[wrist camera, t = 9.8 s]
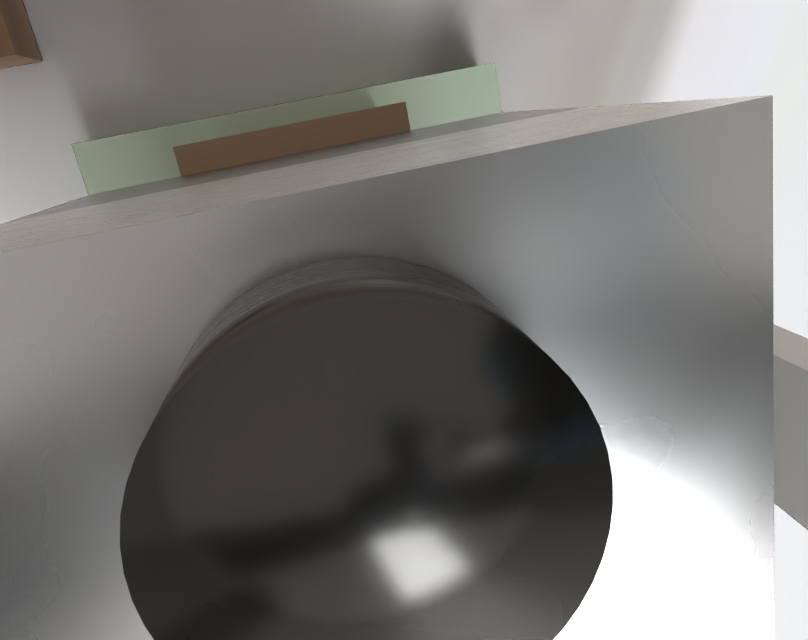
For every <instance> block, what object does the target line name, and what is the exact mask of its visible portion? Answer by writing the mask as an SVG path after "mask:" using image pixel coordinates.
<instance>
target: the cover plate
mask: <svg viewBox="0 0 808 640" xmlns="http://www.w3.org/2000/svg"><path fill="white" fill-rule="evenodd" d="M0 640H775V633H774V375H773V116H772V95H771V96H755V97H740V98H724V99H708V100H693V101H677V102H661V103H645V104H630V105H614V106H598V107H582V108H575V109H570V110H565V111H560V112H555V113H550V114H545V115H540V116H535V117H530V118H525V119H520V120H515V121H510V122H505V123H500V124H496V125H491V126H486V127H481V128H476V129H471V130H466V131H461V132H456V133H451V134H446V135H441V136H436V137H431V138H426V139H421V140H416V141H411V142H406V143H401V144H396V145H391V146H386V147H381V148H376V149H371V150H366V151H361V152H356V153H351V154H346V155H341V156H336V157H331V158H326V159H321V160H316V161H311V162H306V163H301V164H296V165H292V166H287V167H282V168H277V169H272V170H267V171H262V172H257V173H252V174H247V175H242V176H237V177H232V178H227V179H222V180H217V181H212V182H207V183H202V184H197V185H192V186H187V187H182V188H177V189H172V190H167V191H162V192H157V193H152V194H147V195H142V196H137V197H132V198H127V199H122V200H117V201H112V202H107V203H102V204H97V205H92V206H87V207H83V208H78V209H73V210H68V211H63V212H58V213H53V214H48V215H43V216H38V217H33V218H28V219H23V220H18V221H13V222H8V223H4V224H1V225H0Z"/></svg>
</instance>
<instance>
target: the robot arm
mask: <svg viewBox="0 0 808 640" xmlns="http://www.w3.org/2000/svg"><path fill="white" fill-rule="evenodd" d="M773 375H774V503H775V504H776V505H777V506H779V507H780V508H781V509H782V510H783V511H785V512H786V513H787V514H788V515H790V516H791V517H792V518H793V519H795V520H796V521H797V522H798V523H800V524H801V525H802V526H803V527H805V528H806V529H807V530H808V339H807V338H805V337H802V336H800V335H797V334H795V333H793V332H790V331H788V330H786V329H783V328H781V327H779V326H776V325H773Z"/></svg>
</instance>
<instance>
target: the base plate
mask: <svg viewBox="0 0 808 640" xmlns="http://www.w3.org/2000/svg"><path fill="white" fill-rule="evenodd" d="M570 109H575V108H565V109H550V110H534V111H518V112H503V113H494V114H489V115H484V116H479V117H474V118H469V119H464V120H459V121H454V122H449V123H444V124H439V125H434V126H429V127H424V128H419V129H414V130H409V131H404V132H399V133H394V134H389V135H384V136H379V137H374V138H369V139H364V140H359V141H354V142H349V143H344V144H339V145H334V146H329V147H324V148H319V149H314V150H309V151H304V152H299V153H294V154H289V155H284V156H279V157H274V158H269V159H264V160H259V161H254V162H249V163H244V164H239V165H234V166H229V167H224V168H219V169H214V170H209V171H204V172H199V173H194V174H189V175H184V176H179V177H174V178H169V179H164V180H159V181H154V182H149V183H144V184H139V185H134V186H129V187H124V188H119V189H114V190H109V191H104V192H99V193H95V194H92V195H89V196H86V197H83V198H80V199H77V200H74V201H71V202H68V203H65V204H61V205H58V206H55V207H52V208H49V209H46V210H43V211H40V212H37V213H34V214H31V215H28V216H25V217H22V218H19V219H16V220H13V221H18V220H23V219H28V218H33V217H38V216H43V215H48V214H53V213H58V212H63V211H68V210H73V209H78V208H83V207H87V206H92V205H97V204H102V203H107V202H112V201H117V200H122V199H127V198H132V197H137V196H142V195H147V194H152V193H157V192H162V191H167V190H172V189H177V188H182V187H187V186H192V185H197V184H202V183H207V182H212V181H217V180H222V179H227V178H232V177H237V176H242V175H247V174H252V173H257V172H262V171H267V170H272V169H277V168H282V167H287V166H292V165H296V164H301V163H306V162H311V161H316V160H321V159H326V158H331V157H336V156H341V155H346V154H351V153H356V152H361V151H366V150H371V149H376V148H381V147H386V146H391V145H396V144H401V143H406V142H411V141H416V140H421V139H426V138H431V137H436V136H441V135H446V134H451V133H456V132H461V131H466V130H471V129H476V128H481V127H486V126H491V125H496V124H500V123H505V122H510V121H515V120H520V119H525V118H530V117H535V116H540V115H545V114H550V113H555V112H560V111H565V110H570ZM13 221H10V222H13ZM7 223H8V222H7Z"/></svg>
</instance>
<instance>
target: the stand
mask: <svg viewBox="0 0 808 640" xmlns="http://www.w3.org/2000/svg"><path fill="white" fill-rule="evenodd" d="M494 113H501V106H500V98H499V91H498V83H497V76H496V68H495V63H490V64H485V65H480V66H475V67H469V68H464V69H459V70H454V71H449V72H443V73H438V74H433V75H428V76H423V77H417V78H412V79H407V80H402V81H397V82H391V83H386V84H381V85H376V86H371V87H366V88H360V89H355V90H350V91H345V92H340V93H334V94H329V95H324V96H319V97H314V98H308V99H303V100H298V101H293V102H288V103H282V104H277V105H272V106H267V107H262V108H257V109H251V110H246V111H241V112H236V113H231V114H225V115H220V116H215V117H210V118H205V119H199V120H194V121H189V122H184V123H179V124H174V125H168V126H163V127H158V128H153V129H148V130H142V131H137V132H132V133H127V134H122V135H116V136H111V137H106V138H101V139H96V140H90V141H85V142H80V143H75V144H72V147H73V150H74V153H75V156H76V159H77V162H78V165H79V168H80V171H81V174H82V177H83V180H84V183H85V186H86V189H87V192H88V195H92V194H95V193H99V192H104V191H109V190H114V189H119V188H124V187H129V186H134V185H139V184H144V183H149V182H154V181H159V180H164V179H169V178H174V177H179V176H184V175H189V174H194V173H199V172H204V171H209V170H214V169H219V168H224V167H229V166H234V165H239V164H244V163H249V162H254V161H259V160H264V159H269V158H274V157H279V156H284V155H289V154H294V153H299V152H304V151H309V150H314V149H319V148H324V147H329V146H334V145H339V144H344V143H349V142H354V141H359V140H364V139H369V138H374V137H379V136H384V135H389V134H394V133H399V132H404V131H409V130H414V129H419V128H424V127H429V126H434V125H439V124H444V123H449V122H454V121H459V120H464V119H469V118H474V117H479V116H484V115H489V114H494Z"/></svg>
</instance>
